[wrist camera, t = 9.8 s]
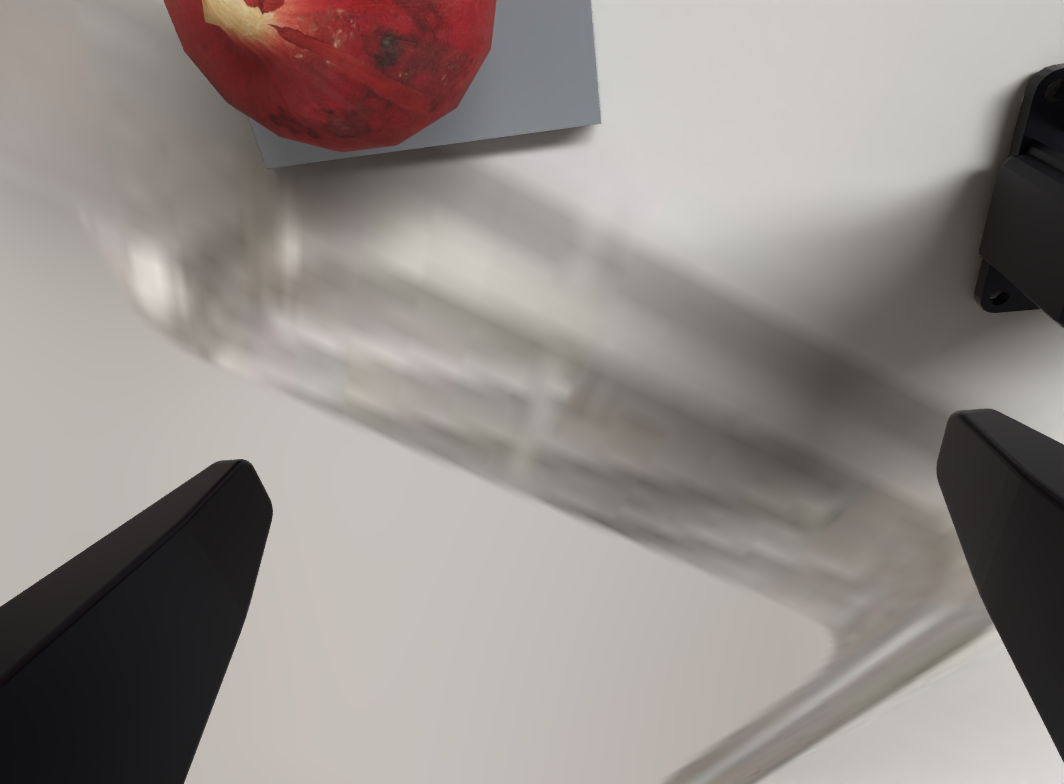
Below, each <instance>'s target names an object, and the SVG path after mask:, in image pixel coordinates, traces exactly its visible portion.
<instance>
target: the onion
mask: <svg viewBox="0 0 1064 784" xmlns="http://www.w3.org/2000/svg"><path fill="white" fill-rule="evenodd" d="M496 2H497V0H164V3H165V5H166V8H167V10H168V12H169V15H170V17H171V20H172V22H173V25H174V27H175V29H176V32H177V34H178V37H179V39H180V42H181V44H182V47H183V49H184V51H185V53H186V54H187V55H188V56H189V57H190V59H191V60H192V61H193V62H194V63H195V65H196V66H197V67H198V68H199V69H200V71H201V72H202V73H203V74H204V76H205V77H206V78H207V79H208V80H209V82H210V83H211V84H212V85H213V86H214V88H215V89H216V90H217V91H218V92H219V94H220V95H221V96H222V97H223V98H224V100H226V101H227V102H228V103H229V104H230V105H232V106H233V107H235V108H236V109H238V110H239V111H241V112H242V113H244V114H245V115H247V116H248V117H250V118H251V119H253V120H254V121H256V122H257V123H259V124H261V125H262V126H264V127H265V128H267V129H268V130H270V131H271V132H273V133H274V134H276V135H277V136H279V137H282V138H286V139H290V140H294V141H297V142H301V143H305V144H309V145H313V146H317V147H321V148H325V149H329V150H333V151H338V152H342V153H343V152H351V151H358V150H366V149H374V148H381V147H389V146H396V145H398V144H400V143H402V142H403V141H405V140H407V139H408V138H410V137H412V136H413V135H415V134H416V133H418V132H419V131H421V130H423V129H424V128H426V127H427V126H429V125H431V124H432V123H434V122H435V121H437V120H438V119H440V118H442V117H443V116H445V115H446V114H448V113H450V112H451V111H453V110H454V109H456V108H457V107H458V105H459V104H460V102H461V100H462V98H463V97H464V95H465V93H466V91H467V90H468V88H469V86H470V84H471V83H472V81H473V79H474V78H475V76H476V74H477V72H478V71H479V69H480V67H481V65H482V64H483V62H484V60H485V59H486V57H487V55H488V53H489V52H490V50H491V44H492V36H493V27H494V19H495V10H496Z"/></svg>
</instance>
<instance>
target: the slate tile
mask: <svg viewBox="0 0 1064 784" xmlns="http://www.w3.org/2000/svg"><path fill="white" fill-rule="evenodd" d="M248 119H249V122H250V124H251V127H252V130H253V132H254V135H255V138H256V141H257V143H258V146H259V149H260V151H261V154H262V157H263V159H264V162H265V165H266V168H267V169H269V168H277V167H284V166H292V165H299V164H306V163H314V162H321V161H329V160H336V159H343V158H351V157H358V156H366V155H373V154H380V153H388V152H395V151H402V150H410V149H417V148H425V147H432V146H439V145H447V144H454V143H462V142H469V141H476V140H484V139H491V138H499V137H506V136H513V135H521V134H528V133H536V132H543V131H550V130H558V129H565V128H573V127H580V126H587V125H595V124H601V110H600V99H599V87H598V75H597V63H596V52H595V40H594V28H593V16H592V5H591V0H497V2H496V10H495V19H494V27H493V36H492V44H491V50H490V52H489V53H488V55H487V57H486V59H485V60H484V62H483V64H482V65H481V67H480V69H479V71H478V72H477V74H476V76H475V78H474V79H473V81H472V83H471V84H470V86H469V88H468V90H467V91H466V93H465V95H464V97H463V98H462V100H461V102H460V104H459V105H458V107H457V108H456V109H454V110H453V111H451V112H450V113H448V114H446V115H445V116H443V117H442V118H440V119H438V120H437V121H435V122H434V123H432V124H431V125H429V126H427V127H426V128H424V129H423V130H421V131H419V132H418V133H416V134H415V135H413V136H412V137H410V138H408V139H407V140H405V141H403V142H402V143H400V144H398V145H396V146H389V147H381V148H374V149H366V150H358V151H351V152H343V153H342V152H338V151H333V150H329V149H325V148H321V147H317V146H313V145H309V144H305V143H301V142H297V141H294V140H290V139H286V138H282V137H279V136H277V135H276V134H274V133H273V132H271V131H270V130H268V129H267V128H265V127H264V126H262V125H261V124H259V123H257V122H256V121H254V120H253V119H251V118H250V117H248Z"/></svg>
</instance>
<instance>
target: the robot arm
mask: <svg viewBox="0 0 1064 784" xmlns="http://www.w3.org/2000/svg"><path fill="white" fill-rule="evenodd" d="M1057 80H1060V86H1059V88H1058V90H1057V92H1056V93H1055V94H1053V95H1052V96H1051V97H1048V98H1045V92H1046V90H1047V88H1048V86H1049V85H1050V84H1052V83H1053V82H1054V81H1057ZM979 254H980V255H981V256H982V257H983V260H982V264H981V268H980V272H979V276H978V280H977V284H976V288H975V291H974V299H975V301H976V302H977V304H978V305H979V306H980V307H981V308H982V309H983V310H985V311H987V312H991V313H999V312H1011V311H1022V310H1034V309H1041V310H1043V311H1044V312H1045V313H1046V314H1047V315H1048V316H1049V317H1050V318H1052V319H1053V320H1054V321H1055V322H1056V323H1057V324H1058V325H1059V326H1061V327H1062V328H1064V64H1057V65H1052V66H1049V67H1046V68H1044V69H1042V70H1041V71H1039V72H1038V73H1036V74H1035V75H1034V77H1033V78H1032V79H1031V80H1030V81H1029V83H1028V85H1027V88H1026V90H1025V94H1024V98H1023V102H1022V105H1021V109H1020V113H1019V117H1018V121H1017V125H1016V129H1015V133H1014V137H1013V141H1012V145H1011V149H1010V153H1009V157H1008V158H1007V159H1006V160H1005V162H1004V163H1003V164H1002V165H1001V166H1000V168H999V172H998V176H997V180H996V184H995V188H994V192H993V197H992V201H991V205H990V209H989V213H988V217H987V221H986V225H985V229H984V233H983V237H982V241H981V245H980V249H979ZM1001 289H1003V291H1002V292H1001V294H1000V295H999V296H997V297H996V298H992V299H990V297H991V295H992V294H993V293H994V292H996V291H997V290H1001ZM937 478H938V482H939V485H940V488H941V491H942V494H943V496H944V499H945V502H946V505H947V507H948V510H949V513H950V516H951V518H952V521H953V524H954V527H955V530H956V532H957V535H958V538H959V541H960V543H961V546H962V549H963V552H964V554H965V557H966V560H967V563H968V565H969V568H970V571H971V574H972V576H973V579H974V581H975V584H976V586H977V589H978V592H979V594H980V596H981V598H982V601H983V603H984V605H985V607H986V609H987V611H988V613H989V615H990V617H991V619H992V621H993V623H994V625H995V627H996V629H997V631H998V633H999V635H1000V637H1001V639H1002V641H1003V643H1004V645H1005V647H1006V649H1007V651H1008V653H1009V655H1010V657H1011V659H1012V661H1013V663H1014V665H1015V667H1016V669H1017V671H1018V673H1019V675H1020V677H1021V679H1022V681H1023V683H1024V685H1025V687H1026V689H1027V691H1028V693H1029V695H1030V697H1031V699H1032V701H1033V703H1034V704H1035V706H1036V708H1037V710H1038V712H1039V714H1040V716H1041V718H1042V720H1043V722H1044V724H1045V726H1046V728H1047V730H1048V732H1049V734H1050V736H1051V738H1052V740H1053V742H1054V744H1055V746H1056V748H1057V750H1058V752H1059V754H1060V756H1061V758H1062V760H1063V762H1064V445H1063V444H1061V443H1059V442H1057V441H1056V440H1054V439H1052V438H1050V437H1048V436H1046V435H1044V434H1042V433H1040V432H1038V431H1036V430H1034V429H1032V428H1030V427H1028V426H1026V425H1024V424H1022V423H1020V422H1018V421H1016V420H1014V419H1012V418H1010V417H1008V416H1006V415H1004V414H1002V413H1000V412H998V411H996V410H993V409H974V410H960V411H956V412H954V413H953V414H952V415H951V416H950V417H949V420H948V422H947V426H946V429H945V433H944V437H943V441H942V445H941V449H940V453H939V457H938V460H937ZM272 515H273V509H272V504H271V500H270V498H269V496H268V494H267V492H266V490H265V488H264V486H263V484H262V482H261V480H260V478H259V477H258V475H257V473H256V471H255V469H254V467H253V465H252V464H251V463H250V462H249V461H247V460H243V459H237V460H223V461H218V462H216V463H214V464H212V465H210V466H209V467H207V468H206V469H205V470H203V471H201V472H200V473H199V474H197V475H196V476H194V477H193V478H191V479H190V480H188V481H187V482H185V483H184V484H182V485H181V486H179V487H178V488H176V489H175V490H173V491H172V492H170V493H169V494H167V495H166V496H164V497H163V498H161V499H160V500H158V501H157V502H155V503H154V504H153V505H151V506H150V507H148V508H147V509H145V510H143V511H142V512H141V513H139V514H138V515H136V516H135V517H133V518H132V519H130V520H129V521H127V522H126V523H124V524H123V525H121V526H120V527H118V528H117V529H115V530H114V531H112V532H111V533H109V534H108V535H107V536H105V537H103V538H102V539H100V540H99V541H97V542H96V543H95V544H93V545H91V546H90V547H89V548H87V549H86V550H84V551H83V552H81V553H80V554H78V555H77V556H75V557H74V558H72V559H71V560H69V561H68V562H66V563H65V564H63V565H62V566H60V567H59V568H57V569H56V570H54V571H53V572H51V573H50V574H48V575H47V576H45V577H44V578H42V579H41V580H39V581H38V582H37V583H35V584H34V585H32V586H31V587H29V588H28V589H26V590H25V591H23V592H22V593H20V594H19V595H17V596H16V597H14V598H13V599H11V600H10V601H8V602H7V603H5V604H4V605H2V606H1V607H0V784H184V782H185V779H186V777H187V774H188V771H189V768H190V766H191V763H192V761H193V758H194V755H195V753H196V750H197V747H198V745H199V742H200V739H201V737H202V734H203V731H204V729H205V726H206V723H207V721H208V718H209V715H210V713H211V710H212V707H213V705H214V702H215V699H216V696H217V694H218V691H219V689H220V686H221V683H222V681H223V678H224V675H225V673H226V670H227V668H228V665H229V662H230V660H231V657H232V654H233V652H234V649H235V646H236V644H237V641H238V638H239V636H240V633H241V630H242V627H243V624H244V621H245V618H246V615H247V612H248V608H249V605H250V602H251V598H252V594H253V590H254V587H255V583H256V579H257V575H258V571H259V567H260V564H261V560H262V555H263V552H264V548H265V544H266V541H267V537H268V533H269V529H270V525H271V521H272Z"/></svg>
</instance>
